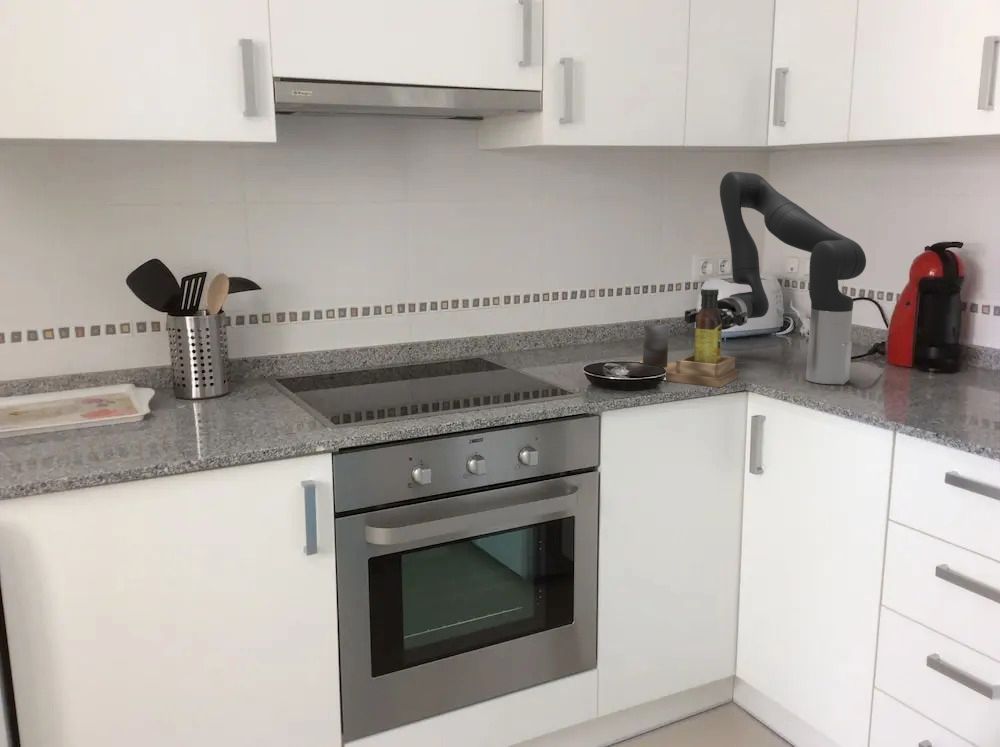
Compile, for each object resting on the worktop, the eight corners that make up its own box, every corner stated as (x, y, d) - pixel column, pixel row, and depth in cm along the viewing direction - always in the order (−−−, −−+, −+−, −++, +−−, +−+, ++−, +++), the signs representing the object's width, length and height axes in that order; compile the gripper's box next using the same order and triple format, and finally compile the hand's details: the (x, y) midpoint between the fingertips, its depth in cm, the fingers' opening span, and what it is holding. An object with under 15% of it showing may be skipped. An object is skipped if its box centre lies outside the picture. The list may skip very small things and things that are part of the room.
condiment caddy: (738, 377, 216) (740, 328, 214) (720, 387, 206) (723, 336, 203) (642, 366, 229) (644, 320, 227) (621, 375, 219) (622, 327, 216)
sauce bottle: (722, 374, 210) (727, 290, 206) (695, 374, 211) (699, 290, 206) (716, 368, 217) (720, 287, 213) (690, 368, 217) (694, 287, 213)
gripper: (701, 296, 226) (677, 302, 213) (757, 299, 219) (736, 307, 205) (699, 325, 228) (676, 333, 214) (755, 329, 220) (734, 339, 207)
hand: (705, 320), depth 210 cm, fingers open, 8 cm apart
